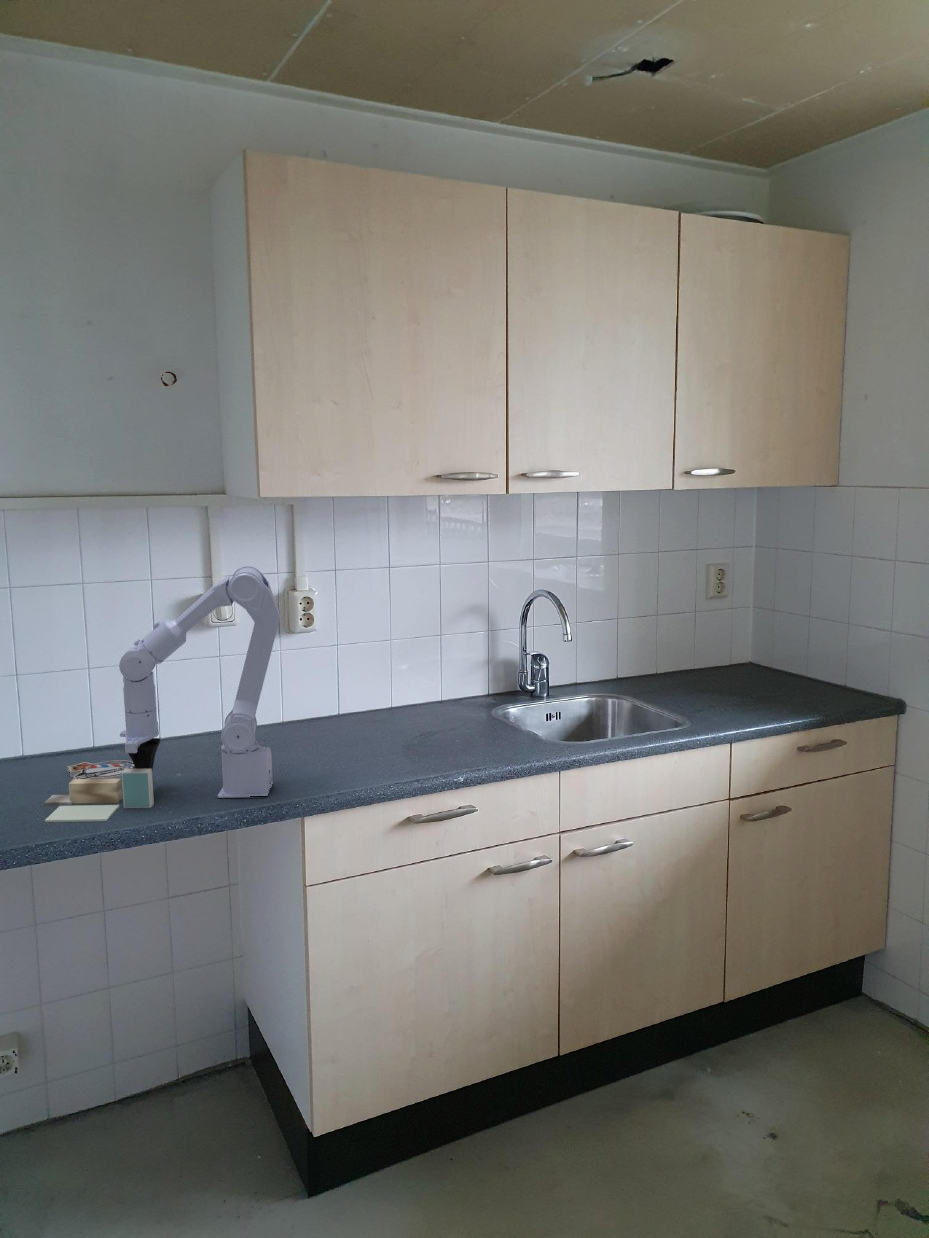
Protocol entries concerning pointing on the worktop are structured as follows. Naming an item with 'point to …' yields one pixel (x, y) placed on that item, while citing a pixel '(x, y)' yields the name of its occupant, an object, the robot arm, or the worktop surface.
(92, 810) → the pad
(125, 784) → the tile
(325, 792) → the worktop surface
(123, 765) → the emblem
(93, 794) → the wooden handled scraper
